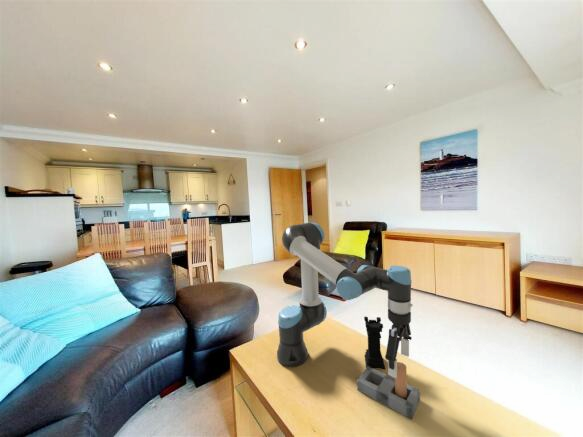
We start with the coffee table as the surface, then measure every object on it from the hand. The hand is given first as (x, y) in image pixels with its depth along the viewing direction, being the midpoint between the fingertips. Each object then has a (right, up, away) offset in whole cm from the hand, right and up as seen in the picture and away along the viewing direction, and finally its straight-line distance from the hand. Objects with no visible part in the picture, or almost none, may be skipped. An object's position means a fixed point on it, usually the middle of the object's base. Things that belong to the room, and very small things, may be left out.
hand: (399, 364), depth 86 cm
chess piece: (-1, -13, +22) cm, 25 cm away
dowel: (+1, -14, +1) cm, 14 cm away
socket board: (-3, -14, +4) cm, 15 cm away
